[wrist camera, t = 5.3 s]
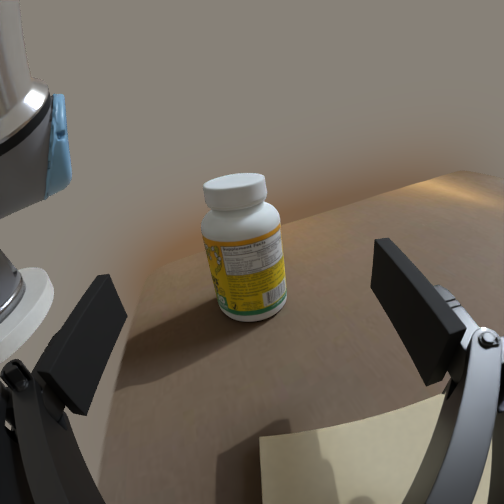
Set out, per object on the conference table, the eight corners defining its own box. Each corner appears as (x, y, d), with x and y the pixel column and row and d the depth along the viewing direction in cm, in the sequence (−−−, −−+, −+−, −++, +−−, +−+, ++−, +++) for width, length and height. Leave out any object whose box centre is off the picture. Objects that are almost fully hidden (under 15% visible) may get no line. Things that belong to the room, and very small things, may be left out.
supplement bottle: (290, 320, 20) (278, 185, 15) (215, 327, 20) (183, 198, 16) (284, 278, 24) (272, 166, 20) (222, 285, 25) (200, 176, 20)
